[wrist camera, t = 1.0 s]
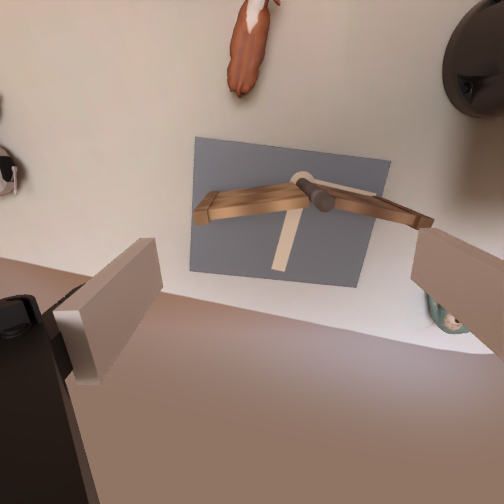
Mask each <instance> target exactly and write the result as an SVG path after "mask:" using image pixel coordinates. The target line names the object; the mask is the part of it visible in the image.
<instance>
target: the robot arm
mask: <svg viewBox="0 0 504 504" xmlns="http://www.w3.org/2000/svg"><path fill="white" fill-rule="evenodd" d="M443 81H444V86H445V90H446V92H447V95H448V97H449V99H450V100H451V102H452V103H453V104H454V106H455V107H456V108H457V109H459V110H460V111H461V112H463V113H465V114H467V115H470V116H473V117H479V118H487V117H497V116H504V0H482V1H480V2H479V3H478V4H476V5H475V6H474V7H473V8H472V9H471V10H470V11H469V12H468V13H467V14H466V15H465V16H464V18H463V19H462V20H461V21H460V23H459V24H458V26H457V27H456V29H455V31H454V33H453V35H452V37H451V39H450V41H449V44H448V46H447V49H446V53H445V57H444V63H443ZM411 280H413V281H414V282H415V283H416V284H417V285H418V286H419V287H420V288H422V289H423V290H424V291H425V292H426V293H427V294H428V295H430V296H431V297H432V298H433V299H434V300H435V301H436V302H437V303H439V304H440V305H441V306H442V307H443V308H444V309H445V310H446V311H448V312H449V313H450V314H451V315H452V316H453V317H454V318H455V319H457V320H458V321H459V322H460V323H461V324H462V325H463V326H464V327H466V328H467V329H468V330H469V331H470V332H471V333H472V334H474V335H475V336H476V337H477V338H478V339H479V340H480V341H481V342H483V343H484V344H485V345H486V346H487V347H488V348H489V349H490V350H492V351H493V352H494V353H495V354H496V355H497V356H498V357H499V358H501V359H502V360H503V361H504V260H501V259H499V258H497V257H495V256H493V255H491V254H489V253H487V252H485V251H483V250H481V249H479V248H477V247H474V246H472V245H470V244H468V243H466V242H464V241H462V240H460V239H458V238H456V237H454V236H452V235H449V234H447V233H445V232H443V231H441V230H439V229H437V228H419V233H418V239H417V245H416V250H415V256H414V262H413V267H412V273H411ZM162 287H163V283H162V277H161V271H160V265H159V260H158V254H157V248H156V242H155V238H139V239H138V240H137V241H136V242H135V243H133V244H132V245H131V246H130V247H129V248H127V249H126V250H125V251H124V252H123V253H121V254H120V255H119V256H118V257H117V258H116V259H114V260H113V261H112V262H111V263H110V264H108V265H107V266H106V267H105V268H104V269H102V270H101V271H100V272H99V273H98V274H96V275H95V276H94V277H93V278H92V279H90V280H89V281H88V282H87V283H84V284H83V285H80V286H78V287H76V288H74V289H73V290H72V291H70V292H69V293H68V294H67V295H65V297H63V298H62V299H61V300H59V301H58V303H56V304H54V305H53V306H52V307H51V308H49V309H48V310H47V311H46V312H44V314H42V315H41V313H40V310H39V307H38V304H37V302H36V299H35V297H34V296H32V295H16V296H12V297H7V298H3V299H1V300H0V504H100V503H99V499H98V495H97V492H96V488H95V485H94V481H93V478H92V474H91V471H90V467H89V463H88V460H87V456H86V452H85V449H84V445H83V442H82V438H81V434H80V431H79V427H78V424H77V420H76V417H75V413H74V409H73V406H72V403H71V399H70V395H69V392H68V388H67V385H66V383H65V379H66V378H67V376H68V375H69V374H70V373H71V371H72V370H73V373H74V376H75V379H76V381H77V384H78V385H79V384H101V383H102V381H103V380H104V378H105V377H106V375H107V374H108V372H109V371H110V369H111V367H112V366H113V364H114V363H115V361H116V360H117V358H118V356H119V355H120V353H121V351H122V350H123V349H124V347H125V346H126V344H127V342H128V341H129V339H130V338H131V336H132V334H133V333H134V331H135V330H136V328H137V327H138V325H139V323H140V322H141V320H142V319H143V317H144V316H145V314H146V312H147V311H148V309H149V308H150V306H151V304H152V303H153V302H154V300H155V298H156V297H157V295H158V293H159V292H160V291H161V289H162Z"/></svg>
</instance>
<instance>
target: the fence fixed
mask: <svg viewBox="0 0 504 504" xmlns="http://www.w3.org/2000/svg"><path fill="white" fill-rule="evenodd" d="M296 186H297V187H299V188H300V189H301V190H302V191H303V192H304V193H305V194H306V195H307V196H308V197H309V201H310V202H311V203H312V204H313V205H314V206H315V207H316V208H317V209H318V210H320V211H321V212H329V211H331V210H332V209H333V208H336V209H340V210H345V211H349V212H354V213H358V214H362V215H367V216H371V217H376V218H380V219H385V220H389V221H394V222H398V223H402V224H406V225H408V226H410V227H412V228H414V229H416V230H419V228H431V226H432V224H433V222H434V220H435V219H432V218H430V217H428V216H425V215H423V214H420V213H418V212H416V211H413V210H411V209H408V208H406V207H404V206H401V205H399V204H396V203H394V202H392V201H389V200H387V199H385V198H382V197H378V196H374V195H373V196H368V195H363V194H359V193H355V192H350V191H346V190H342V189H338V188H333V187H329V186H325V185H320V184H316V183H311V182H310V181H308V180H307V179H305V178H300V179H298V180H297V182H296Z"/></svg>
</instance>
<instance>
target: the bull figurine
mask: <svg viewBox="0 0 504 504" xmlns="http://www.w3.org/2000/svg"><path fill="white" fill-rule="evenodd" d="M273 1H274V2H275V3H276V4H277V5H278V6H280V0H273ZM268 2H269V0H246V1H245V2H244V4H243V5H242V7H241V8H240V11H239V14H238V18H237V22H236V25H235V27H234V31H233V35H232V39H231V43H230V56H231V61H230V64H229V65H228V69H227V76H228V79H227V81H228V86H229V89H230V92H232V91H236V94H237V96H238V98H241V97H243V96H244V95H246V94H249V93H250V91H251V89H252V88H253V87H254V85H255V82H256V80H257V78H258V68H259V66H260V64H261V63H262V61H263V59H264V55H265V46H266V41H267V36H268V30H269V25H270V13H269V10H268V8H267V7H268ZM240 93H242V94H240Z"/></svg>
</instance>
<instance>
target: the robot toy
mask: <svg viewBox="0 0 504 504" xmlns="http://www.w3.org/2000/svg"><path fill="white" fill-rule="evenodd" d="M17 172H18V171H17V167H15V164H14V162H13V160H12V158H11V157H10V156H9V155H8V154H7V152H6V151H5V150H4V149H3V148H1V147H0V196H2V195H5V194H7V193H9V192H11V191H12V190H13V189H14V194H15V195H17V194H18V190H17Z"/></svg>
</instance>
